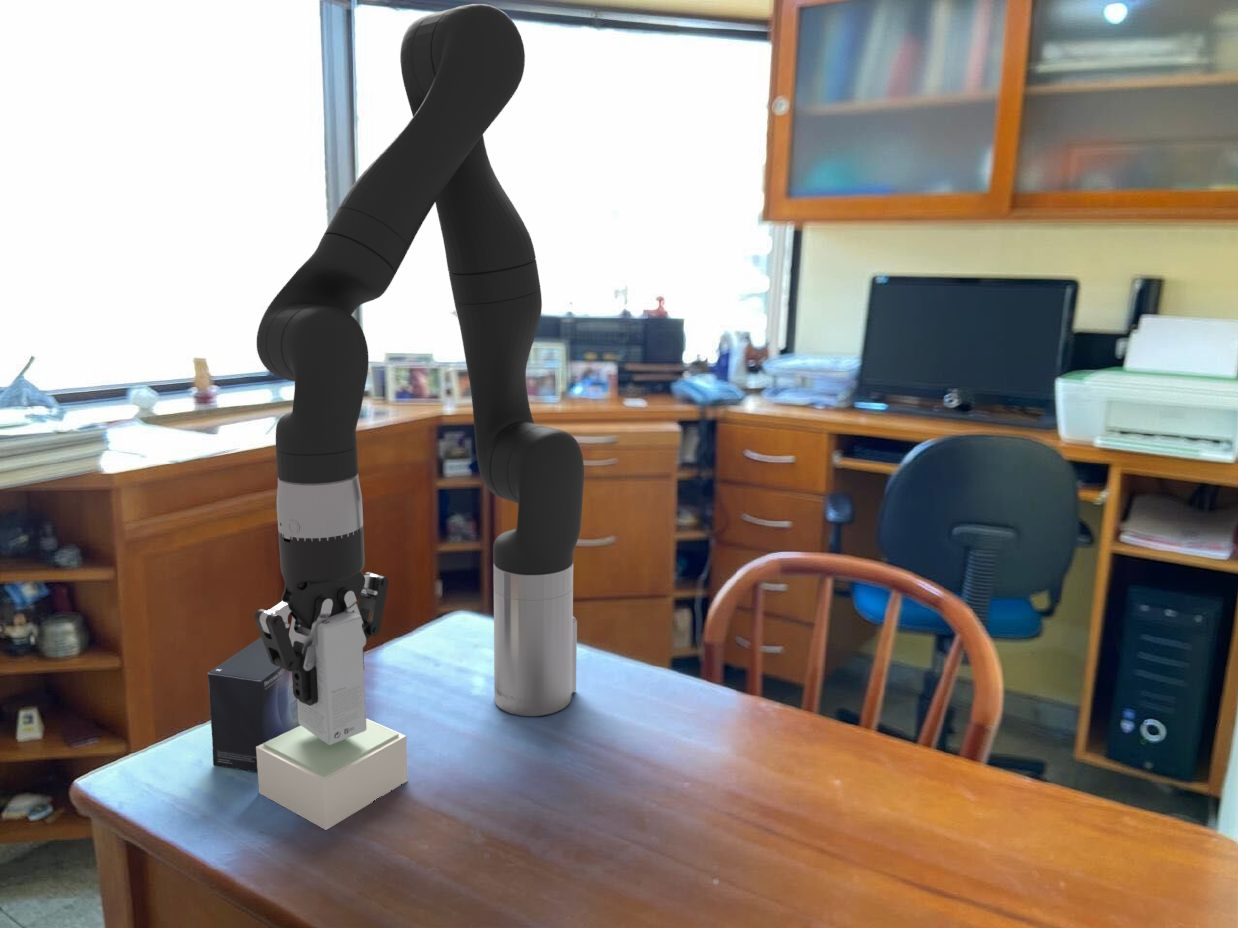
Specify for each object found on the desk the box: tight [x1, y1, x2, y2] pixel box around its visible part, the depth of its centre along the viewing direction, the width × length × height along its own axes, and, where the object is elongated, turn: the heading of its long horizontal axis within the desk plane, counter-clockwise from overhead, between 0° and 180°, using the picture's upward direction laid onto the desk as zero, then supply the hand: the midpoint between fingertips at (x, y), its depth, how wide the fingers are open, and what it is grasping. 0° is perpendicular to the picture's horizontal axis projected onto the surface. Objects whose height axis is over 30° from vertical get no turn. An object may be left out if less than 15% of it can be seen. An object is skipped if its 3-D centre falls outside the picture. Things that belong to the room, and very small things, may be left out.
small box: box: [207, 636, 301, 773], centre depth 97 cm, size 11×6×10 cm, turn 168°
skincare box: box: [297, 612, 367, 745], centre depth 88 cm, size 6×4×12 cm
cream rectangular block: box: [256, 717, 408, 831], centre depth 90 cm, size 10×10×5 cm
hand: (330, 691), depth 89 cm, fingers closed on skincare box, 4 cm apart
